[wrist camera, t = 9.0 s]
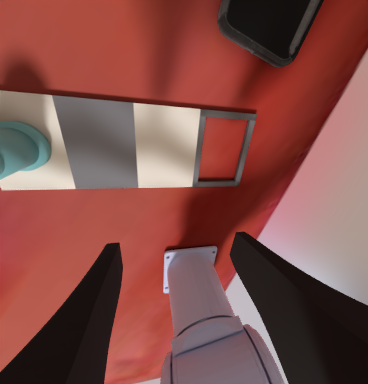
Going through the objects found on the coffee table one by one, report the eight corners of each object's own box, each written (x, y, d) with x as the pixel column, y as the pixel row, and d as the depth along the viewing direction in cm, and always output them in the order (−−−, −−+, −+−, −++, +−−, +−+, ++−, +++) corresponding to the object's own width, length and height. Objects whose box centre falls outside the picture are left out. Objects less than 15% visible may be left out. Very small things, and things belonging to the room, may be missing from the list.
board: (237, 184, 20) (238, 186, 19) (5, 188, 15) (2, 190, 14) (254, 114, 16) (257, 114, 16) (-44, 86, 11) (-50, 85, 11)
